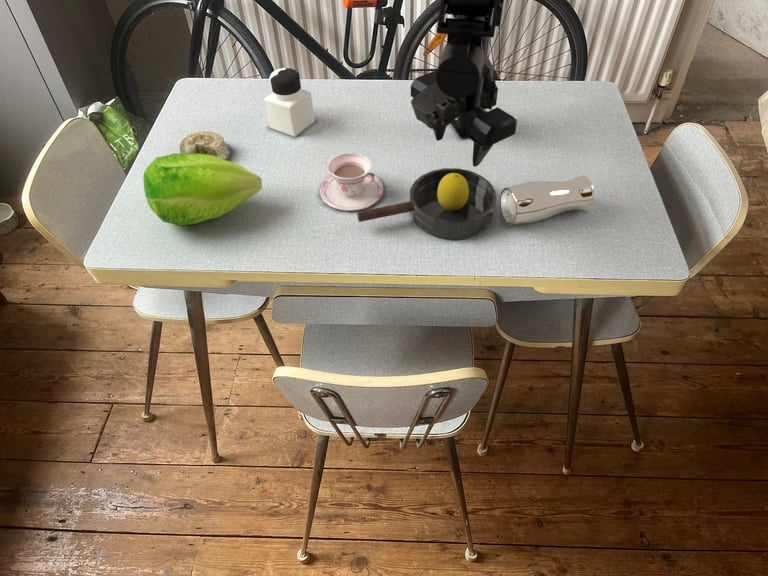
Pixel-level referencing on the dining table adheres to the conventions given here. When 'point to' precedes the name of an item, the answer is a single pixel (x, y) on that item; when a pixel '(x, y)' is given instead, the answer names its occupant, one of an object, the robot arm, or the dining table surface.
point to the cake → (205, 144)
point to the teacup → (350, 183)
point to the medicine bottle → (288, 103)
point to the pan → (452, 223)
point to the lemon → (453, 192)
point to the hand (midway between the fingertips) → (457, 152)
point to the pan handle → (385, 211)
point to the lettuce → (196, 187)
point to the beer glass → (545, 199)
